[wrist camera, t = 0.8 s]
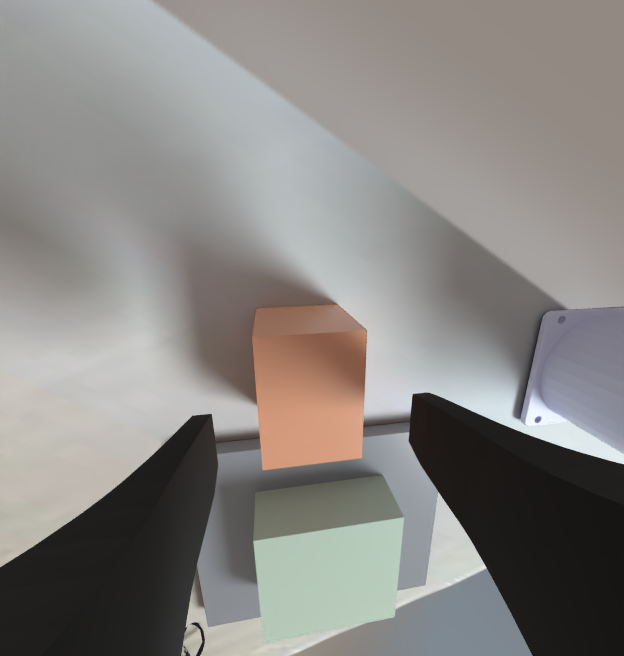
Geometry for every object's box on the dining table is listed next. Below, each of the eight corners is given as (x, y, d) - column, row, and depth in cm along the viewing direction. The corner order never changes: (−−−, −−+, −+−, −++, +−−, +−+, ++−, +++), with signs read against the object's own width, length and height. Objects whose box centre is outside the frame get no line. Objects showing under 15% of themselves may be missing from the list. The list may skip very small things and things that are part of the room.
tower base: (437, 418, 19) (479, 462, 15) (418, 571, 23) (448, 635, 19) (182, 446, 17) (158, 505, 13) (210, 609, 21) (198, 690, 17)
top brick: (337, 303, 16) (367, 330, 11) (336, 400, 18) (362, 458, 13) (256, 307, 15) (251, 337, 11) (263, 407, 17) (262, 470, 12)
